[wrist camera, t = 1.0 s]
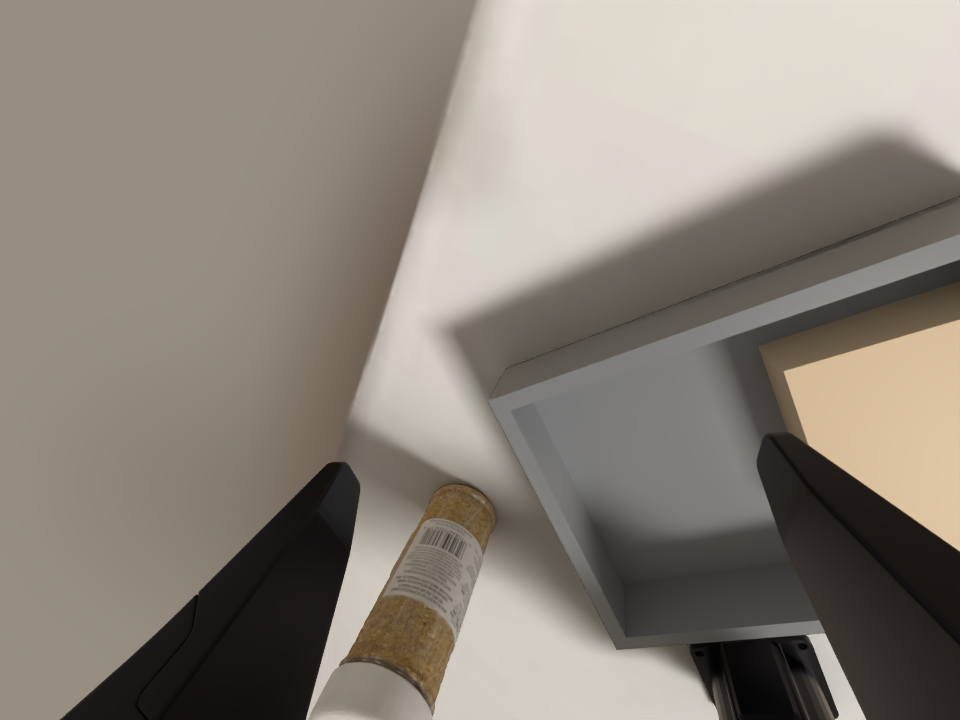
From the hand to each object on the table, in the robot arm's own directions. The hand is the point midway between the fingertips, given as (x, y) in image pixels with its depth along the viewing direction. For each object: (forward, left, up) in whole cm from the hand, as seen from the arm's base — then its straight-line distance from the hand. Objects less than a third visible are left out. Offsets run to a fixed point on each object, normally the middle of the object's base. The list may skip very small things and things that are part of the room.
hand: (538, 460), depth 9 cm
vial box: (-10, -10, -13) cm, 19 cm away
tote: (-10, -5, -13) cm, 17 cm away
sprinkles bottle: (-10, +12, -13) cm, 20 cm away
